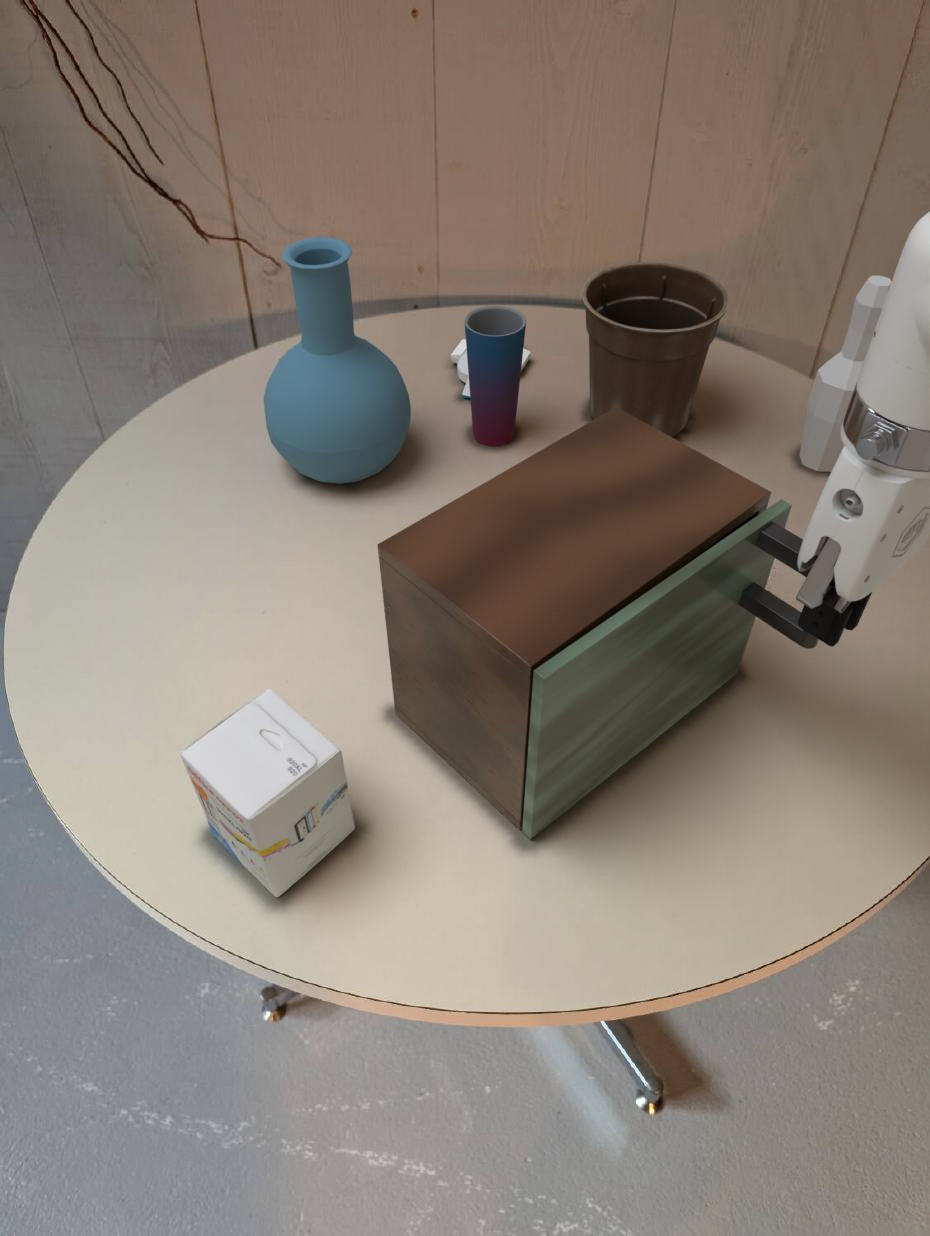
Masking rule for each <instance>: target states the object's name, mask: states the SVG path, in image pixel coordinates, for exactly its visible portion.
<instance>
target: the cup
mask: <svg viewBox="0 0 930 1236" xmlns="http://www.w3.org/2000/svg"><path fill="white" fill-rule="evenodd" d="M526 327H527V318H526V316H525V315H524V314H523V313H522V312H521V311H520V310H518V309H516V308H514V307H510V306H505V305H485V306H481V307H478V308H474V309H473V310H471V311H470V312H468V313H467V314H466V315H465V317H464V333H465V334H464V335H465V339H466V348H467V361H468V374H469V387H470V398H469V399H470V411H471V423H472V437H473V438H474V440H475V441H476V442H478V444H479V443H480V444H481V445H484V446H488V447H500V446H503V445H506V444H508V443H510V442H511V441H512V440H513V439H514V438H515V429H516V420H517V412H518V404H519V403H518V401H519V393H520V384H521V374H522V371H521V366H522V356H523V348H524V346H525V336H526V329H527V328H526Z"/></svg>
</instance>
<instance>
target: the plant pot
mask: <svg viewBox="0 0 930 1236" xmlns="http://www.w3.org/2000/svg"><path fill="white" fill-rule="evenodd" d="M581 301H582V304H583V306H584V307H585V328H586V332H587V333H588V351H589V352H588V358H589V359H588V363H589V365H588V366H589V368H588V369H589V370H588V371H589V373H588V374H589V376H588V377H589V417H590V418H592V421H593V420H595V419H596V418H598V417H600V416H602V415H603V414H605V413H607V412H608V411H610V410H612V409H614V408H615V407H618V408H619V409H621V410H623V411H625V412H627V413H629V414H630V415H632V416H634V417H636V418H638V419H639V420H641V421H643V422H645V423H647V424H649V425H650V426H652V427H654V428H656V429H658V430H659V431H661V432H663V433H665V434H667V435H669V436H670V437H672V438H674V437H675V436H677V435H679V433H681V432H682V431H683V430H684V429H685V427H686V426H687V424H688V421H689V418H690V414H691V410H692V407H693V403H694V399H695V396H696V392H697V389H698V386H699V383H700V379H701V376H702V372H703V368H704V366H705V362H706V359H707V355H708V352H709V349H710V347H711V344H712V343H713V341H714V340H715V338H716V335H717V331H718V327H719V325H720V322H721V319H722V318H723V317H724V316H725V314H726V312H727V310H728V307H729V304H730V298H729V294H728V292H727V290H726V289H725V287H724V285H722V284H721V282H719V281H718V280H717V279H716V278H714V277H712V276H710V275H709V274H707V273H704V272H703V271H700V270H698V269H694V268H692V267H686V266H683V265H679V264H676V263H675V264H674V263H668V262H657V261H656V262H655V261H643V262H641V261H639V262H629V263H623V264H619V265H614V266H611V267H607V268H605V269H602V270H600V271H598V272H596V273H594V274H593V275H592V276H591V277H589V278H588V279H587V280H586V281H585V283H584V285H583V286H582V289H581Z"/></svg>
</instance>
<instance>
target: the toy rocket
mask: <svg viewBox="0 0 930 1236" xmlns="http://www.w3.org/2000/svg"><path fill="white" fill-rule="evenodd" d="M450 358H451V359H450V362H453V363H455V364H457V365H456V367H457V369H456V370H457V377H458V379H459V380H460V381H462V382H463V383H465V386H464V388H463V390H462V393H461V395H462V398H466V399H470V387H469V374H468V361H467V348H466V338H463V339H461V340H460V342H458V344H457V345H456V347H455V349H454V350H453V351H452V353H451V354H450ZM530 358H531V351H530V350H529V349H526V348H524V347H523V356H522V366H521V372H522V371H523V369H524V368H525V367H526V365H527V363H528V361H529V360H530Z"/></svg>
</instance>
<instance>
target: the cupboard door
mask: <svg viewBox="0 0 930 1236" xmlns="http://www.w3.org/2000/svg"><path fill="white" fill-rule="evenodd" d="M792 506H793V505H792V504H791V503H789V502H787V501H786V500H784V499H782V498H781V499H779V500H778V501H777V502H774V503H773V504H772V505H771V506H768V507H767V509H766V510H765V511H764V512H762V513H761V514H759V515H758V516H756V517H755V518H753V519H752V520H751V521H749V522H748V523H746V524H745V525H743V526H742V527H740V528H739V529H738V530H736V531H735V532H733V533H732V534H730V535H729V536H727V537H726V538H725V539H723V540H722V541H720V542H719V543H717V544H716V545H714V546H713V547H711V548H710V549H709V550H707V551H706V552H704V553H703V554H701V555H700V556H698V557H697V558H696V559H694V560H693V561H691V562H690V563H688V564H687V565H685V566H684V567H683V568H681V569H680V570H678V571H677V572H675V573H674V574H672V575H671V576H670V577H668V578H667V579H665V580H664V581H662V582H661V583H659V584H658V585H657V586H655V587H654V588H652V589H651V590H649V591H648V592H646V593H645V594H644V595H642V596H641V597H639V598H638V599H636V600H635V601H633V602H632V603H630V604H629V605H628V606H626V607H625V608H623V609H622V610H620V611H619V612H617V613H616V614H615V615H613V616H612V617H610V618H609V619H607V620H606V621H604V622H603V623H602V624H600V625H599V626H597V627H596V628H594V629H593V630H591V631H590V632H589V633H587V634H586V635H584V636H583V637H581V638H580V639H578V640H577V641H576V642H574V643H573V644H571V645H570V646H568V647H567V648H565V649H564V650H563V651H561V652H560V653H558V654H557V655H555V656H554V657H552V658H551V659H549V660H548V661H547V662H545V663H544V664H542V665H541V666H539V667H538V668H536V669H535V670H534V672H533V686H532V701H531V715H530V729H529V743H528V757H527V771H526V785H525V799H524V813H523V827H522V829H521V832H522V833H523V834H524V835H525V836H526V837H527V838H528V839H529V840H533V838H535V837H536V836H537V835H538V834H540V833H541V832H542V831H543V830H545V829H546V828H547V827H548V826H549V825H552V823H553V822H555V821H556V820H557V819H558V818H560V817H561V816H562V815H563V814H565V813H566V812H567V811H569V809H571V808H572V807H573V806H575V805H576V804H577V803H579V801H582V800H583V798H584V797H585V796H587V795H588V794H589V793H591V792H592V791H593V790H595V789H596V788H597V787H598V786H600V785H601V784H602V783H603V782H604V781H605V780H607V779H608V778H610V777H611V776H612V775H613V774H614V773H616V772H617V771H618V770H619V769H621V768H622V767H623V766H625V765H626V764H627V763H628V762H629V761H631V760H632V759H633V758H634V757H635V756H637V755H638V754H639V753H640V752H642V751H644V749H646V748H647V747H648V746H649V745H650V744H652V743H653V742H655V741H656V740H657V739H658V738H659V737H661V736H662V735H663V734H664V733H665V732H667V731H668V730H669V729H670V728H671V727H673V726H674V725H675V724H676V723H678V722H679V721H680V720H682V718H684V717H686V716H687V714H689V713H690V712H692V711H693V710H694V709H695V708H697V706H699V705H700V704H701V703H703V702H704V701H705V700H706V699H708V698H709V697H710V696H712V694H714V693H715V692H717V691H718V690H719V689H720V688H722V686H724V685H725V684H726V683H728V682H729V681H730V680H731V679H733V677H735V676H736V675H738V673H739V670H740V666H741V664H742V661H743V657H744V654H745V652H746V648H747V645H748V642H749V639H750V636H751V633H752V630H753V627H754V623H755V620H756V618H758V619H759V620H761V621H762V622H764V623H765V624H766V625H768V626H770V627H771V628H772V629H774V630H775V631H777V632H779V633H780V634H782V635H783V636H784V637H786V638H787V639H789V640H791V641H792V642H793V643H795V644H797V645H798V646H800V647H801V648H803V649H807V650H811V649H814V648H815V647H817V645H818V643H819V641H820V640H819V639H818V638H816V637H814V636H813V635H811V634H810V633H808V632H807V631H805V630H804V629H802V628H801V627H800V626H799V625H798V620H799V617H800V615H801V612H802V611H800V610H799V609H797V608H796V607H795V606H792V605H791V604H789V603H788V602H786V601H785V600H783V599H781V598H780V597H778V596H777V595H776V594H774V593H773V592H771V591H769V590H768V589H766V586H767V583H768V581H769V577H770V574H771V571H772V568H773V566H774V562H775V560H777V561H779V562H780V563H782V564H784V565H785V566H787V567H789V568H790V569H792V570H794V571H795V572H797V573H798V574H800V575H802V576H803V577H804V578H805V579H806V578H807V576H808V574H809V572H810V570H811V568H812V567H813V566H812V567H810V568H809V569H808V570H806V571H804V572H800V571H799V569H798V565H797V560H798V555H799V551H800V548H801V544H802V541H803V538H801V537H800V536H798V535H797V534H795V533H793V532H791V531H790V530H788V529H787V528H786V526H787V522H788V519H789V516H790V513H791V510H792ZM829 585H831V586H832V587H834V588H836V585H835V581H834V580H831V582H830V584H829Z"/></svg>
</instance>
